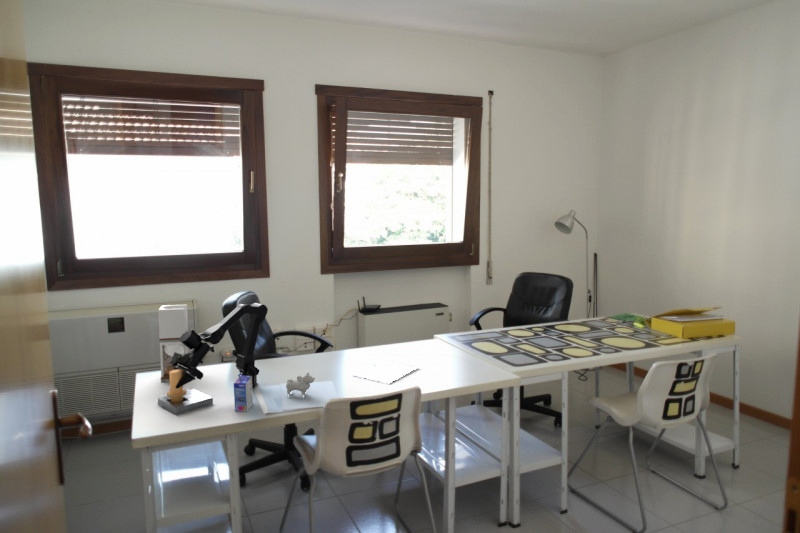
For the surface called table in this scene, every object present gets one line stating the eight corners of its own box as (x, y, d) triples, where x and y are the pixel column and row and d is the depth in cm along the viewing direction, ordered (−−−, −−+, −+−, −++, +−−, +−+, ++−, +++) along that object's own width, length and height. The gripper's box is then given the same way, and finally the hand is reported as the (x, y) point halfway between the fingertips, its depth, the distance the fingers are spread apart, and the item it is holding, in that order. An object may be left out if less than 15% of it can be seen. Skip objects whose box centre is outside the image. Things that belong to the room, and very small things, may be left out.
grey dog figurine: (313, 398, 231) (313, 375, 230) (284, 397, 232) (284, 374, 230) (315, 394, 237) (315, 371, 235) (287, 393, 237) (287, 370, 236)
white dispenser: (160, 382, 248) (158, 309, 244) (164, 374, 258) (162, 305, 254) (186, 380, 251) (184, 308, 247) (188, 373, 261) (187, 304, 257)
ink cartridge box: (240, 402, 225) (239, 370, 223) (253, 402, 225) (252, 370, 223) (233, 411, 215) (233, 377, 213) (247, 411, 215) (246, 377, 213)
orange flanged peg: (181, 396, 224) (180, 367, 222) (190, 401, 219) (189, 371, 217) (163, 401, 218) (162, 371, 217) (172, 406, 213) (171, 375, 212)
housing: (193, 394, 232) (193, 388, 232) (212, 404, 222) (212, 397, 222) (157, 404, 220) (157, 398, 220) (176, 415, 210) (176, 408, 210)
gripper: (173, 340, 225) (148, 371, 218) (195, 349, 213) (169, 381, 206) (191, 354, 232) (167, 384, 225) (213, 363, 220) (189, 395, 213)
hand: (173, 386), depth 217 cm, fingers closed on orange flanged peg, 5 cm apart
